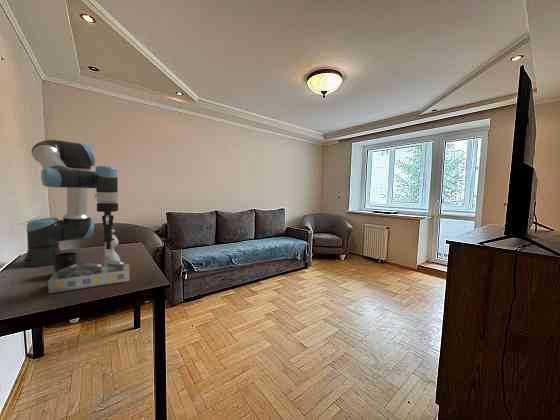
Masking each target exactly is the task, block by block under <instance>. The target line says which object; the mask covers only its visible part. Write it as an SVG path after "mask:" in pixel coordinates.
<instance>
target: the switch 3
mask: <svg viewBox="0 0 560 420" xmlns="http://www.w3.org/2000/svg"><path fill="white" fill-rule="evenodd" d="M124 264H125V262H124V261H121V262H118V261H108V264H107V267H111V268H122V269H123V267H124Z"/></svg>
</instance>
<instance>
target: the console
mask: <svg viewBox="0 0 560 420" xmlns="http://www.w3.org/2000/svg"><path fill="white" fill-rule="evenodd" d="M130 277H131V275H130V264H129V263H124V267H123V269H122V268H111V267H104V266H102V268H101V272H100V271H88V270H83V268H82V269H78V270H77V271H74V272H71V273H69V274H66V275H63V276H60V277H58V276H57V273H56V272H54V273H53V274H52V275H51V276H50V278H49V279H48V280H47V285H48V287H47V289H48V294H53V293H60V292H67V291H73V290H79V289H87V288H93V287H94V288H95V287H100V286H106V285H112V284H119V283H124V282H130V280H131V279H130Z"/></svg>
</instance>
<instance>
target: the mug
mask: <svg viewBox="0 0 560 420" xmlns="http://www.w3.org/2000/svg"><path fill="white" fill-rule="evenodd" d="M77 255H78V254H77V252H73V251H72V252H71V251H69V252H62V253H59V254H55V255H53V256H52V257H53V264H52V266H53V269H54V271H55V272H54V273H57V272H58V271H59V270H61V269H63V268H66V267H69V266H72V265H75V264H77V262H78V261H77V260H78V258H77V257H78V256H77Z"/></svg>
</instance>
